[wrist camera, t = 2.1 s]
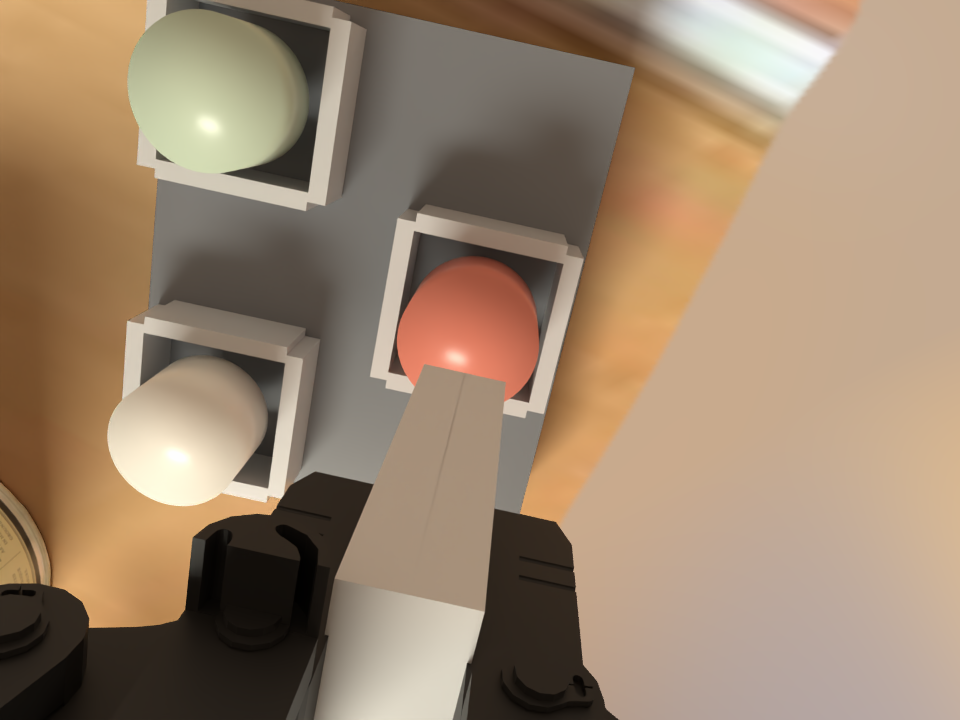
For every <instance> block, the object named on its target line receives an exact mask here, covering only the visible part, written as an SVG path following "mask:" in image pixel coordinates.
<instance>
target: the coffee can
mask: <svg viewBox="0 0 960 720" xmlns="http://www.w3.org/2000/svg"><path fill="white" fill-rule="evenodd" d="M50 578H51V568H50V561H49V557H48V553H47V550H46V546H45V543H44V541H43V538H42V536H41V534H40V532H39V530H38V528H37V526H36V524H35V523H34V521H33V520H32V518H31V516H30V514H29V513H28V511H27V510H26V508H25V507H24V506H23V505H22V504H21V503H20V502H19V501H18V500H17V498H16V497H15V496H14V495H13V494H12V493H11V492H10V491H9V489H7V488H6V487H5V486H4V485H3V484H2V483H1V482H0V585H4V584H8V583H39V584H43V585H47V586H50Z"/></svg>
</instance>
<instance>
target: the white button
mask: <svg viewBox="0 0 960 720" xmlns="http://www.w3.org/2000/svg"><path fill="white" fill-rule="evenodd" d="M267 426H268V410H267V405H266V401H265V399H264V396H263V394H262V392H261V390H260V388H259V387H258V385H257V384H256V382H255V381H254V380H253V379H252V378H251V376H250V375H248V374H247V373H246V372H245V371H244V370H243V369H241V368H240V367H238V366H237V365H235V364H233V363H232V362H230V361H227V360H225V359H222V358H219V357H215V356H208V355H195V356H189V357H184V358H182V359H179V360H177V361H175V362H173V363H172V364H170V365H169V366H167V367H166V368H165V369H163V370H162V371H160V372H159V373H158V374H156V375H155V376H154V377H152V378H151V379H149V380H148V381H147V382H145V383H144V384H143V385H141V386H140V387H138V388H137V389H136V390H134V391H133V392H132V393H130V394H129V395H128V396H126V397H125V398H124V399H123V400H122V401H121V402H120V403H119V404H118V405H117V407H116V408H115V410H114V412H113V414H112V416H111V418H110V422H109V425H108V433H107V435H108V447H109V451H110V454H111V457H112V460H113V462H114V464H115V466H116V467H117V469H118V471H119V472H120V474H121V475H122V476H123V478H124V479H125V480H126V481H127V482H128V483H129V484H130V485H131V486H132V487H134V488H135V489H136V490H137V491H139V492H140V493H142V494H143V495H145V496H147V497H149V498H151V499H153V500H155V501H158V502H161V503H165V504H168V505H175V506H191V505H197V504H201V503H204V502H207V501H209V500H211V499H213V498H215V497H216V496H218V495H219V494H221V493H222V492H223V491H224V490H225V489H226V488H227V487H228V485H229V484H230V483H231V481H232V480H233V479H234V478H235V476H236V475H237V474H238V472H239V471H240V470H241V469H242V467H243V466H244V465H245V463H246V462H247V461H248V460H249V458H250V457H251V456H252V454H253V453H254V452H255V451H256V449H257V448H258V447H259V445H260V444H261V442H262V440H263V439H264V436H265V434H266V431H267Z"/></svg>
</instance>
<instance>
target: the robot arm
mask: <svg viewBox="0 0 960 720" xmlns="http://www.w3.org/2000/svg"><path fill="white" fill-rule="evenodd" d="M505 386H506V382H503V381H499V380H494V379H490V378H485V377H481V376H476V375H472V374H467V373H463V372H458V371H454V370H449V369H445V368H440V367H436V366H431V365H427V364H424V366H423V368H422V371H421V373H420V376H419V378H418V380H417V383H416V385H415V388H414V390H413V392H412V395H411V397H410V399H409V402H408V404H407V407H406V409H405V411H404V414H403V416H402V419H401V421H400V423H399V426H398V428H397V430H396V433H395V435H394V438H393V440H392V442H391V445H390V447H389V450H388V452H387V454H386V457H385V459H384V462H383V464H382V466H381V469H380V471H379V473H378V476H377V478H376V481H375V483H374V484H370V483H366V482H361V481H357V480H352V479H348V478H343V477H339V476H334V475H330V474H325V473H321V472H316V471H315V472H313V473H311V474H309V475H308V476H306V477H304V478H302V479H300V480H298V481H297V482H295V483H293V484H291V485H290V486H289V488H288V489H287V491H286V492H285V494H284V495H283V497H282V499H281V500H280V502H279V503H278V505H277V508H276V509H275V510H274V511H273V513H272V514H271V515H262V514H252V515H242V516H232V517H229V518H226V519H223V520H220V521H218V522H215V523H212V524H209V525H208V526H206V527H205V528H204V529H203V530H201V531H200V532H199V533H198V534H196V535H195V536H194V537H193V540H192V550H191V559H190V569H189V579H188V588H187V598H186V608H185V611H184V612H183V614H182V615H181V617H180V618H179V619H178V620H177V621H173V622H169V623H165V624H161V625H154V626H143V627H116V628H89V617H88V615H87V612H86V610H85V608H84V605H83V603H82V602H81V601H80V600H79V599H77V598H76V597H74V596H73V595H71V594H70V593H68V592H67V591H66V590H63V589H59V588H55V587H51V586H47V585H43V584H39V583H8V584H4V585H0V720H618V719H617V718H616V717H615V716H613V715H612V714H611V713H610V712H608V711H607V710H606V708H605V704H604V699H603V696H602V694H601V691H600V688H599V685H598V683H597V681H596V680H595V678H594V677H593V676H592V675H591V674H590V673H589V671H588V670H587V669H586V668H585V667H584V665H583V660H582V650H581V639H580V629H579V617H578V607H577V596H576V592H575V587H576V586H575V576H574V572H573V569H574V565H573V554H572V545H571V543H570V542H569V540H568V539H567V538H566V536H565V535H564V533H563V532H562V530H561V529H560V527H559V526H558V525H557V523H556V522H553V521H549V520H544V519H540V518H535V517H531V516H526V515H522V514H517V513H513V512H508V511H504V510H499V509H495V508H494V506H495V495H496V484H497V473H498V462H499V451H500V440H501V430H502V419H503V408H504V397H505Z"/></svg>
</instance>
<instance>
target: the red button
mask: <svg viewBox="0 0 960 720" xmlns="http://www.w3.org/2000/svg"><path fill="white" fill-rule="evenodd" d="M397 349H398V355H399V359H400V362H401V365H402V368H403V370H404V372H405V374H406V375H407V377H408V379H409V380H410V381H411V383H412V384H413V385H414V386H415V385H416V383H417V380H418V378H419V376H420V373H421V371H422V368H423V366H424V364H427V365H431V366H436V367H440V368H445V369H449V370H454V371H458V372H463V373H467V374H472V375H476V376H481V377H485V378H490V379H494V380H499V381H503V382H506V386H505V397H504V402H505V401H507V400H508V399H510V398H511V397H513V396H514V395H515V394H516V393H518V392H519V391H520V390H521V389H522V387H523V386H524V385H525V384H526V383H527V381H528V380H529V378H530V377H531V375H532V372H533V370H534V368H535V365H536V362H537V358H538V353H539V334H538V321H537V310H536V305H535V301H534V298H533V295H532V293H531V291H530V289H529V287H528V286H527V284H526V283H525V281H524V280H523V279H522V278H521V277H520V276H519V275H518V274H517V273H516V272H515V271H514V270H513V269H511V268H510V267H508V266H507V265H505V264H503V263H501V262H499V261H497V260H494V259H491V258H487V257H481V256H465V257H459V258H455V259H452V260H449V261H447V262H444V263H443V264H441V265H439V266H437V267H436V268H435V269H433V270H432V271H431V272H430V273H429V274H428V275H427V276H426V277H425V278H424V279H423V281H422V282H421V283H420V285H419V287H418V289H417V290H416V292H415V294H414V295H413V297H412V299H411V301H410V302H409V304H408V306H407V308H406V309H405V311H404V313H403V315H402V318H401V320H400V324H399V328H398V334H397Z"/></svg>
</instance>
